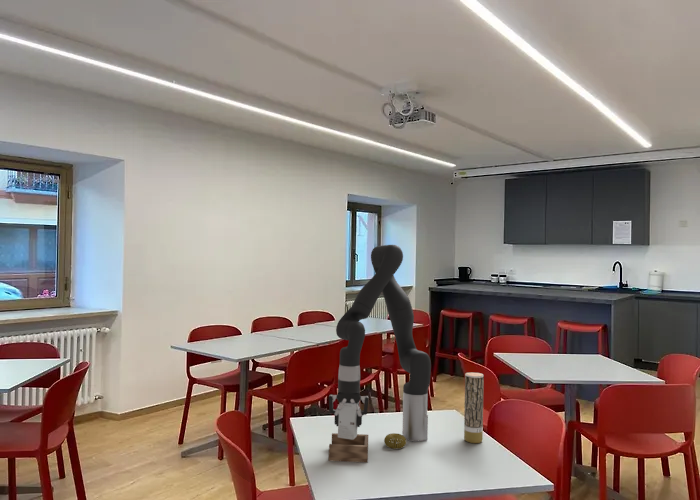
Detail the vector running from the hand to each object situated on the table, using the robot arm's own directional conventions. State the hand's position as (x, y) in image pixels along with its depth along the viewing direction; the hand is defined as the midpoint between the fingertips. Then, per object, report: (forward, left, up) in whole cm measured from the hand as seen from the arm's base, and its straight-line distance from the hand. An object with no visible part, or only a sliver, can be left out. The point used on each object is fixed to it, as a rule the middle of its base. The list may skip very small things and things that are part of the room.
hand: (347, 425), depth 181 cm
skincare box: (0, 0, -4) cm, 4 cm away
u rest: (-1, 0, -10) cm, 10 cm away
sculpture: (-17, -10, -10) cm, 22 cm away
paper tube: (-47, -19, -10) cm, 51 cm away
